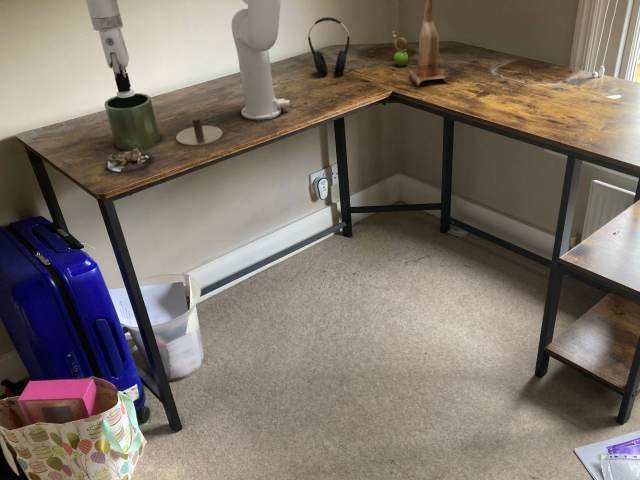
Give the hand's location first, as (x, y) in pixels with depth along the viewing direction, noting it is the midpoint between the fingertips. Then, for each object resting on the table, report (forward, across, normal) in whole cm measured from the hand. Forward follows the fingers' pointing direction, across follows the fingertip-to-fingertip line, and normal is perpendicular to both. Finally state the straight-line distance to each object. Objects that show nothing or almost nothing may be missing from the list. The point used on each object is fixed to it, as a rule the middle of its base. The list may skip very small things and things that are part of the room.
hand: (124, 88), depth 184 cm
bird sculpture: (+16, +24, -99) cm, 103 cm away
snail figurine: (+16, +43, -94) cm, 105 cm away
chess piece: (+2, 0, 0) cm, 2 cm away
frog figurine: (+16, -14, +2) cm, 22 cm away
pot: (+16, 0, 0) cm, 16 cm away
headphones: (+16, +41, -67) cm, 80 cm away
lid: (+15, -3, -18) cm, 24 cm away
